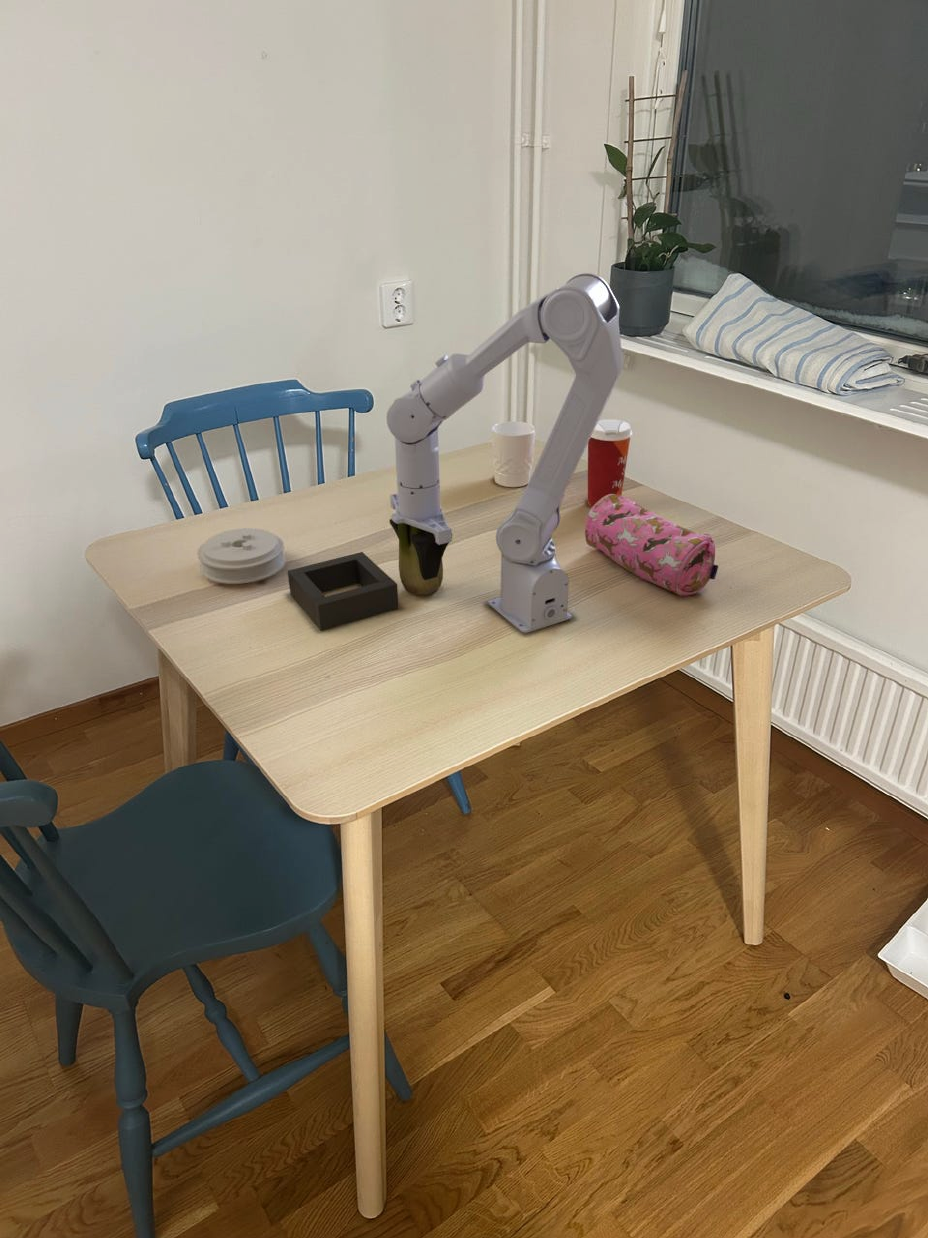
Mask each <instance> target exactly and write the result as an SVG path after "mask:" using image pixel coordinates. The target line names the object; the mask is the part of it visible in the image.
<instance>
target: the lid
mask: <svg viewBox="0 0 928 1238" xmlns="http://www.w3.org/2000/svg"><path fill="white" fill-rule="evenodd" d="M284 549H285V542H284V541H283V539H282V538H281V537H280V536H278V535H277V534H274V533H272V532H271V531H269V530H267V529H266V530H265V529H261V528H253V527H245V528H235V529H229V530H225V531H222V532H219V533H217V534H214V535H212V536H211V537H209V538H208V539H206V540H205V541H204V543H202V544H201V545H200V546H199V547H198V549H197V552H196V553H197V559H198V560H199V562H200V565H199V571H200V573H201V575H202V576H203V577H204V578H206V579H207V580H208V581H209V580H210V581H213V582H216V583H219V584H231V585H237V584H240V585H241V584H247V583H253V582H258V581H261V580H265V579H267V578H270V577H272V576H274V575H275V574H277V573H278V572H280V571H281V570H282V569H283V568H284V567H285V565H286V562H287V559H286V555H285V554H284Z"/></svg>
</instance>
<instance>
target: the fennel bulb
mask: <svg viewBox="0 0 928 1238" xmlns="http://www.w3.org/2000/svg"><path fill="white" fill-rule="evenodd" d="M397 525H398V536H399V539H398V573H399V578H400V582H401V584H402V586H403V588H404V590H405V592H407V593H409V594H412V595H415V596H417V597H429V596H432V595H434V594H436V593H437V592H438V590H439V588H440V587H441V585H442V584H443V579H444V564H443V559H442V560H441V564H440V568H439V572H438V575H437V577H435V578H432V579H428V580H424V579H423V578H422V575H421V572H420V566H419V559H418V555H417V552H416V549H415V547H414V544H413V543H412V541H411V539H410V543H409V541H408V532H407V524H405V523H400V524H397ZM410 528H411V529H410V535H414V534H418V533H423V530H422V529H419V528H417V527H414V526H411V525H410ZM398 536H397V537H398Z"/></svg>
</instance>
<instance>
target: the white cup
mask: <svg viewBox="0 0 928 1238" xmlns="http://www.w3.org/2000/svg"><path fill="white" fill-rule="evenodd" d="M535 441H536V427H535V426H534V425H533V424H532V423H528V422H524V421H502V422H498V423H495V424H494V425H492V426H491V444H492V445H491V451H492V452H491V453H492V464H493V465H492V467H493V477H494V478H493V479H494V482H495V483H496V484H497V485H499V486H501V487H506V488H519V487H524V486H528V483H529V481H530V479H531V477H532V470H533V469H532V468H533V465H534V455H535V444H536V443H535Z"/></svg>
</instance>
